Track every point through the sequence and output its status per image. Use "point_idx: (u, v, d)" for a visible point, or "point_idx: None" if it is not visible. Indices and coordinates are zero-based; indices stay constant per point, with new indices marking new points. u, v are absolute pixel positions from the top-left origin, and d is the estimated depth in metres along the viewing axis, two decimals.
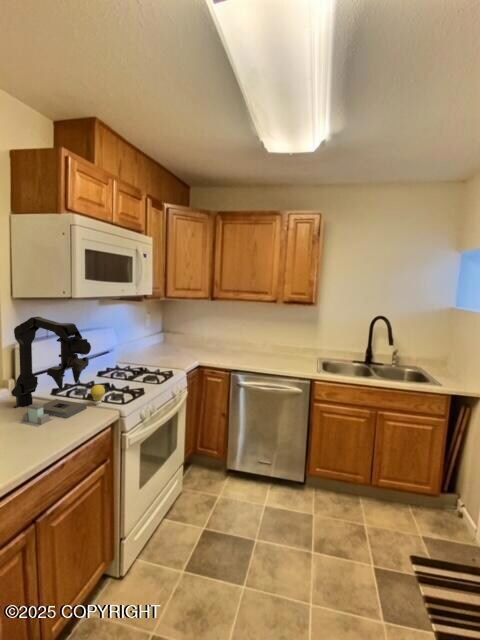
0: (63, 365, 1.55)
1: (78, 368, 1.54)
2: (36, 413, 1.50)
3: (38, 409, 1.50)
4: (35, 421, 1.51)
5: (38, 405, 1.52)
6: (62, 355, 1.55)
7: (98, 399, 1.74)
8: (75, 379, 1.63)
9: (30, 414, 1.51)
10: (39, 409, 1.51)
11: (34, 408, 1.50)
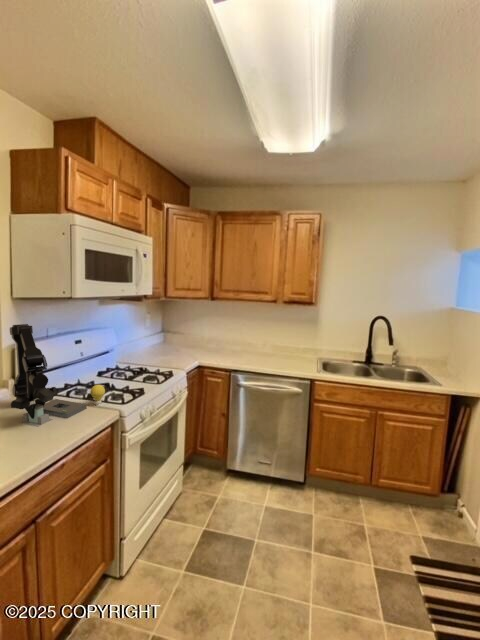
0: (29, 396, 1.48)
1: (44, 399, 1.47)
2: (36, 413, 1.50)
3: (38, 409, 1.50)
4: (35, 421, 1.51)
5: (38, 405, 1.52)
6: (28, 386, 1.48)
7: (98, 399, 1.74)
8: None
9: None
10: (39, 409, 1.51)
11: (34, 408, 1.50)
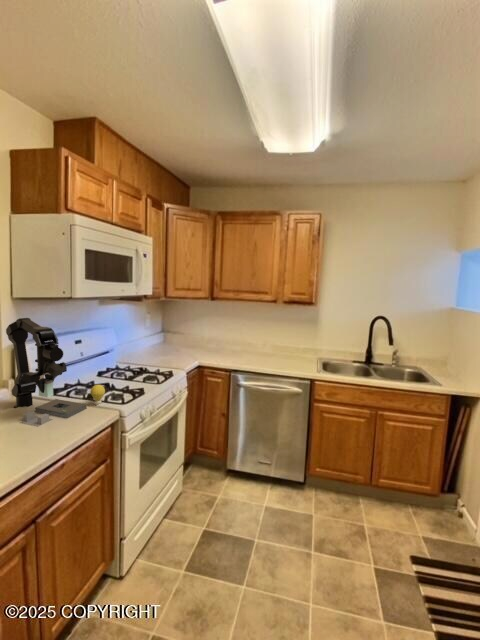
0: (39, 370, 1.52)
1: (54, 374, 1.50)
2: (46, 387, 1.54)
3: (48, 384, 1.54)
4: (45, 395, 1.54)
5: (48, 380, 1.55)
6: (38, 360, 1.52)
7: (98, 399, 1.74)
8: None
9: None
10: (49, 383, 1.54)
11: (44, 383, 1.54)
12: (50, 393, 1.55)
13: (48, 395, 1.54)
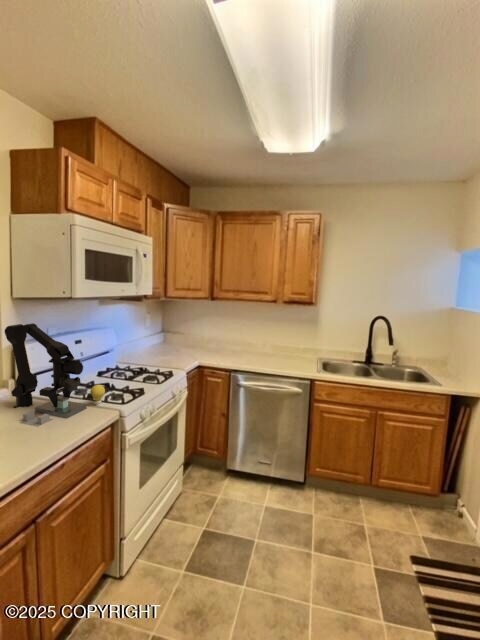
0: (55, 385, 1.60)
1: (70, 388, 1.59)
2: (62, 405, 1.62)
3: (64, 401, 1.63)
4: None
5: (63, 397, 1.64)
6: (54, 375, 1.60)
7: (98, 399, 1.74)
8: None
9: None
10: (65, 401, 1.63)
11: (60, 400, 1.62)
12: None
13: None
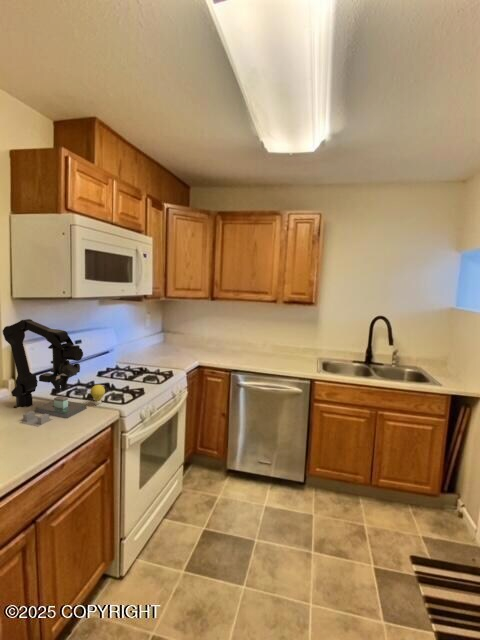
0: (55, 371, 1.59)
1: (69, 374, 1.58)
2: (62, 405, 1.62)
3: (64, 401, 1.63)
4: None
5: (63, 397, 1.64)
6: (54, 361, 1.59)
7: (98, 399, 1.74)
8: (62, 387, 1.64)
9: (56, 406, 1.63)
10: (65, 401, 1.63)
11: (60, 400, 1.62)
12: None
13: None
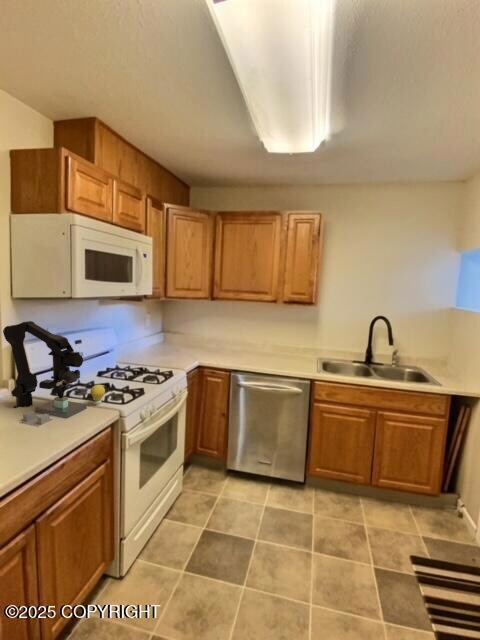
0: (55, 378, 1.60)
1: (69, 381, 1.58)
2: (62, 405, 1.62)
3: (64, 401, 1.63)
4: None
5: (63, 397, 1.64)
6: (54, 368, 1.59)
7: (98, 399, 1.74)
8: None
9: (56, 406, 1.63)
10: (65, 401, 1.63)
11: (60, 400, 1.62)
12: None
13: None
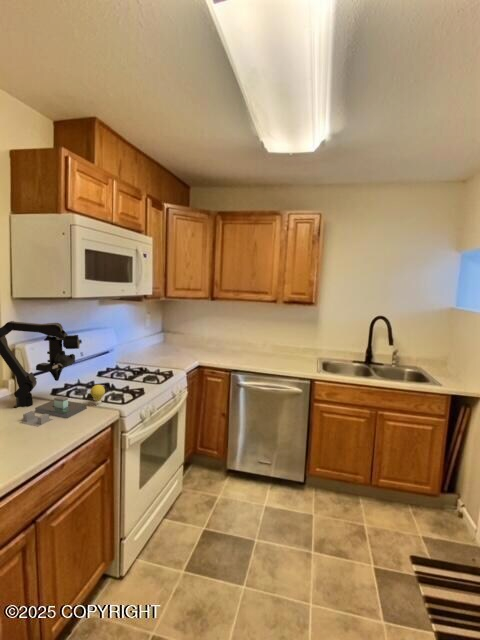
0: (51, 361, 1.68)
1: (65, 364, 1.67)
2: (62, 405, 1.62)
3: (64, 401, 1.63)
4: None
5: (63, 397, 1.64)
6: (50, 352, 1.68)
7: (98, 399, 1.74)
8: None
9: (56, 406, 1.63)
10: (65, 401, 1.63)
11: (60, 400, 1.62)
12: None
13: None
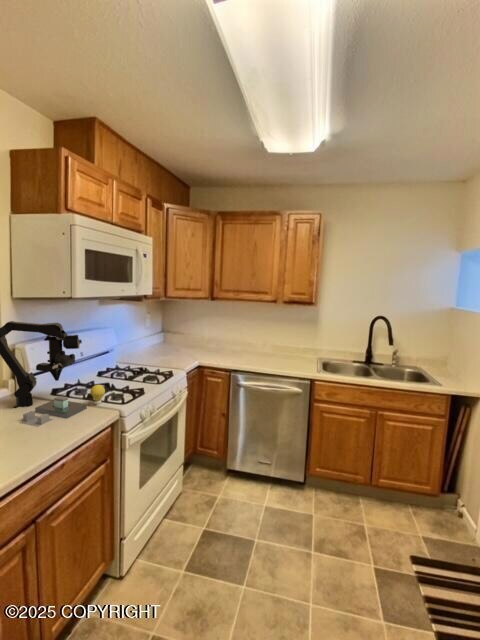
0: (51, 361, 1.68)
1: (65, 364, 1.67)
2: (62, 405, 1.62)
3: (64, 401, 1.63)
4: None
5: (63, 397, 1.64)
6: (50, 352, 1.68)
7: (98, 399, 1.74)
8: None
9: (56, 406, 1.63)
10: (65, 401, 1.63)
11: (60, 400, 1.62)
12: None
13: None
